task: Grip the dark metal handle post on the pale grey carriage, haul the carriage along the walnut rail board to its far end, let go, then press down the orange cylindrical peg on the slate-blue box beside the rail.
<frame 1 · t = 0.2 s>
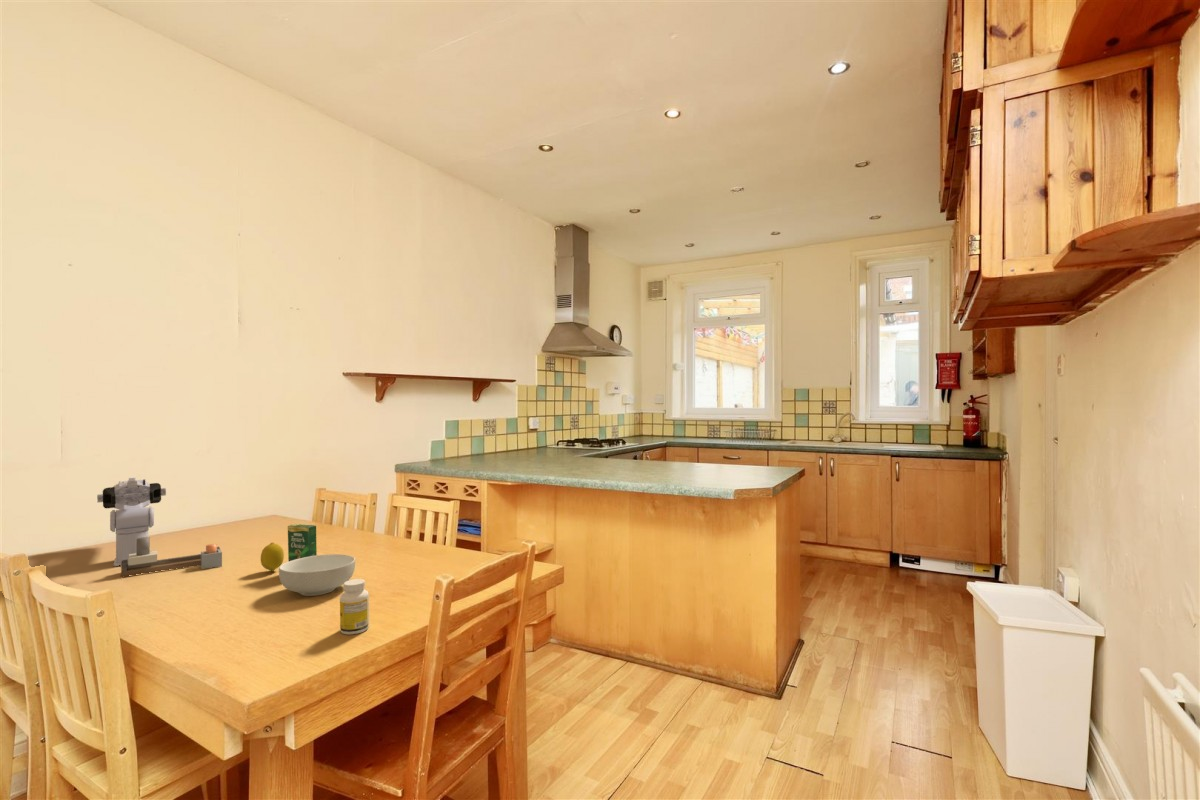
hand: (132, 498, 147), 21 cm above the table, tool horizontal, fingers open, 7 cm apart
carriage: (143, 549, 152), point 6 cm above the table, slide at 0.0 cm
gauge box: (211, 566, 157), on the table
coffee box: (302, 574, 150), on the table
orange cylindrical peg: (211, 551, 157), point 4 cm above the table, slide at 0.0 cm
cereal bowl: (318, 591, 136), on the table
supplement bottle: (354, 630, 112), on the table
lemon: (272, 572, 152), on the table
rail board: (172, 567, 156), on the table
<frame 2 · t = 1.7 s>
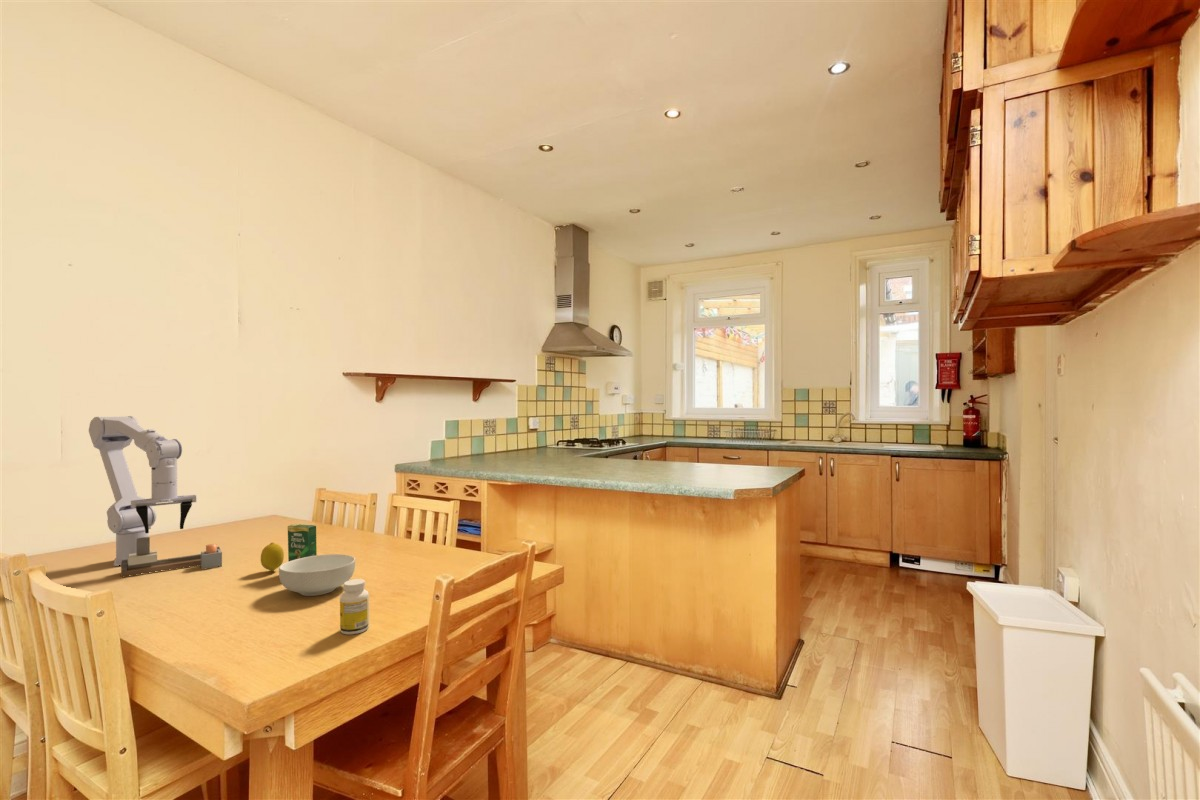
hand: (164, 530, 156), 10 cm above the table, tool pointing down, fingers open, 7 cm apart
nothing on the table moved.
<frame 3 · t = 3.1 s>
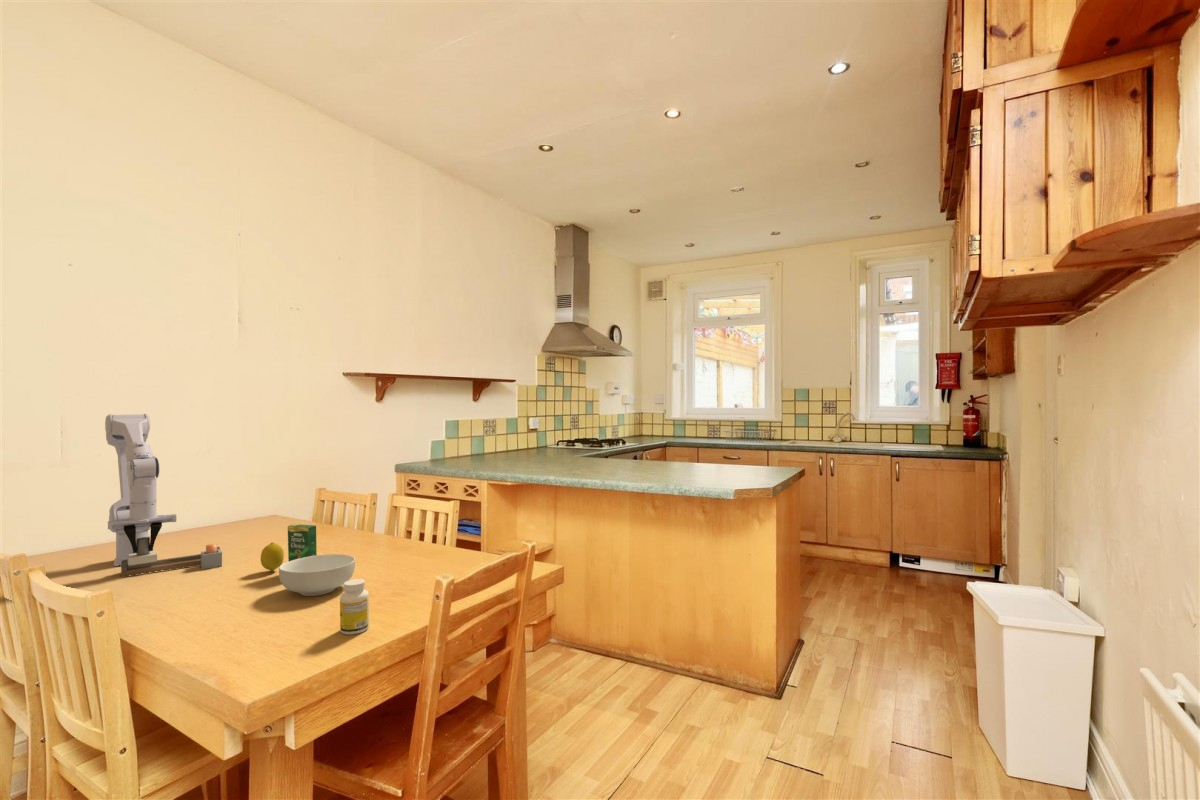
hand: (143, 551, 152), 6 cm above the table, tool pointing down, fingers closed on carriage, 3 cm apart
carriage: (143, 549, 152), point 6 cm above the table, slide at 0.0 cm, touching gripper
everything else where it was.
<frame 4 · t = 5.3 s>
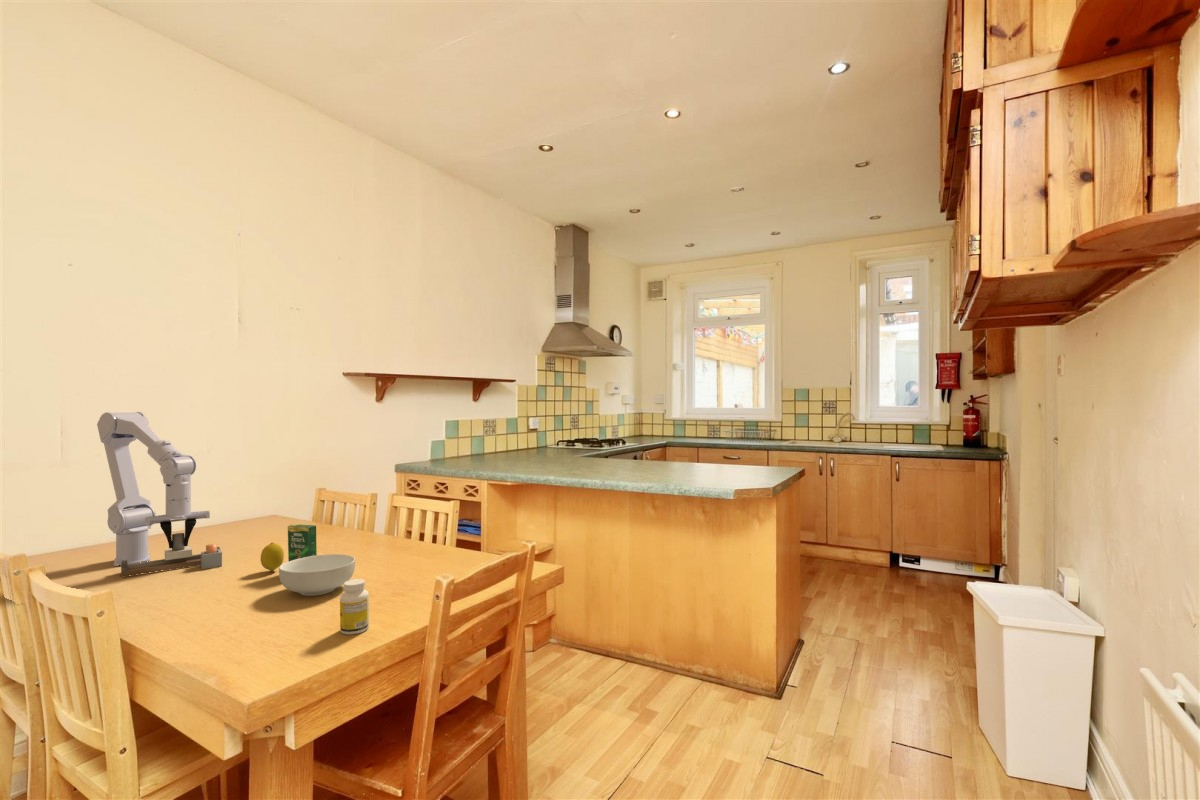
hand: (178, 546, 157), 6 cm above the table, tool pointing down, fingers closed on carriage, 3 cm apart
carriage: (178, 545, 157), point 6 cm above the table, slide at 7.7 cm, touching gripper
everything else where it was.
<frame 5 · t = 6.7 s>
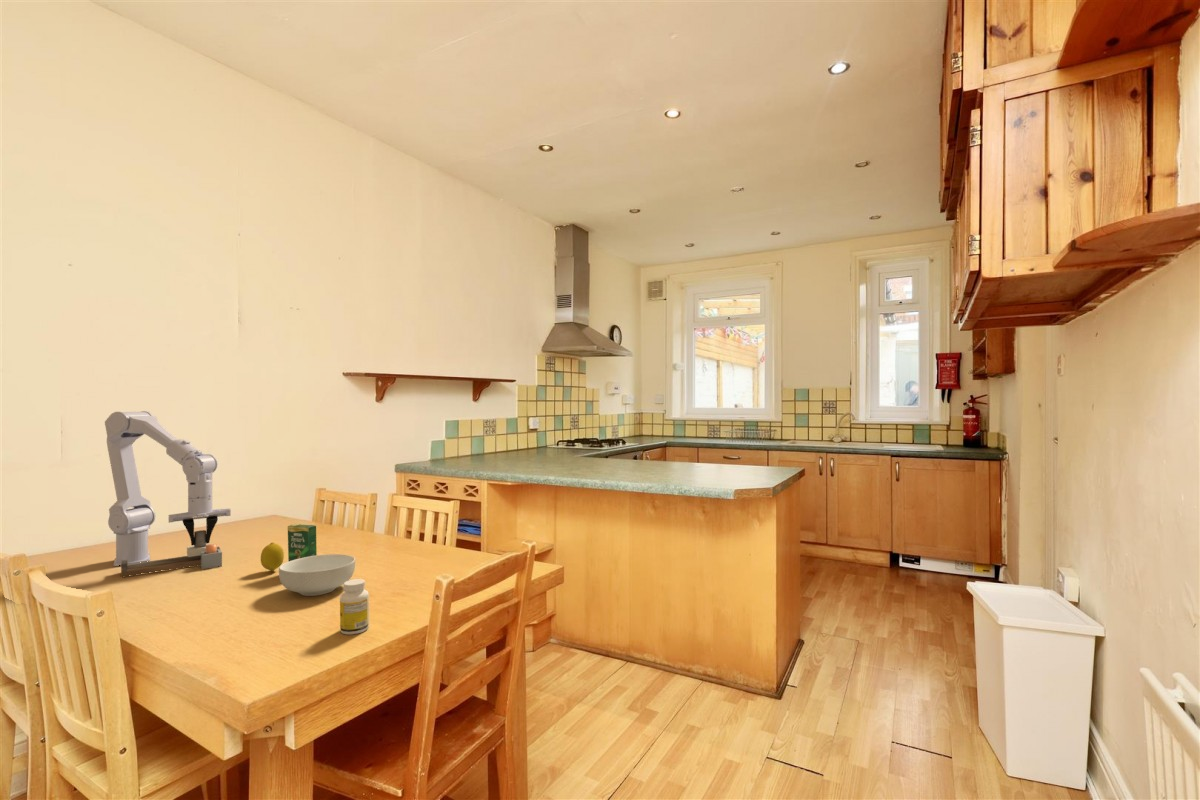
hand: (200, 543, 160), 6 cm above the table, tool pointing down, fingers closed on carriage, 3 cm apart
carriage: (200, 542, 160), point 6 cm above the table, slide at 12.8 cm, touching gripper
everything else where it was.
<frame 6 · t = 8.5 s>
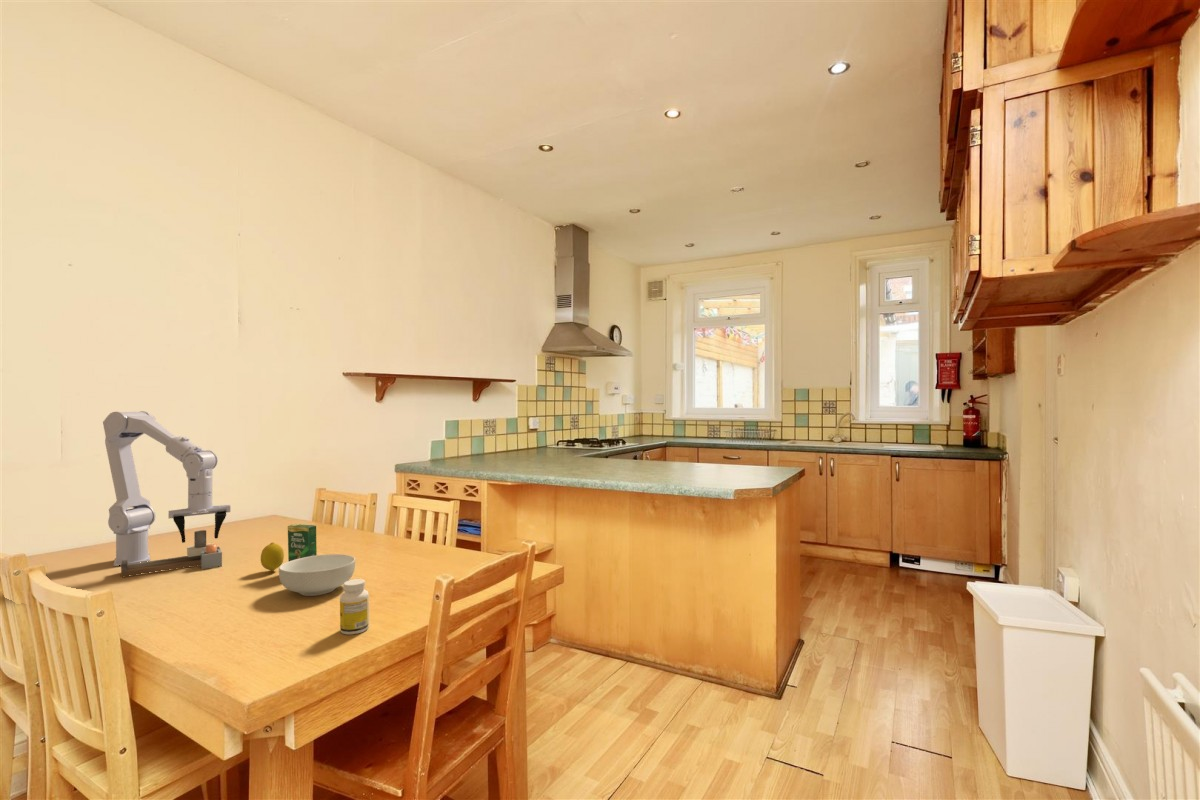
hand: (200, 539, 160), 7 cm above the table, tool pointing down, fingers open, 7 cm apart
carriage: (200, 542, 160), point 6 cm above the table, slide at 12.8 cm
everything else where it was.
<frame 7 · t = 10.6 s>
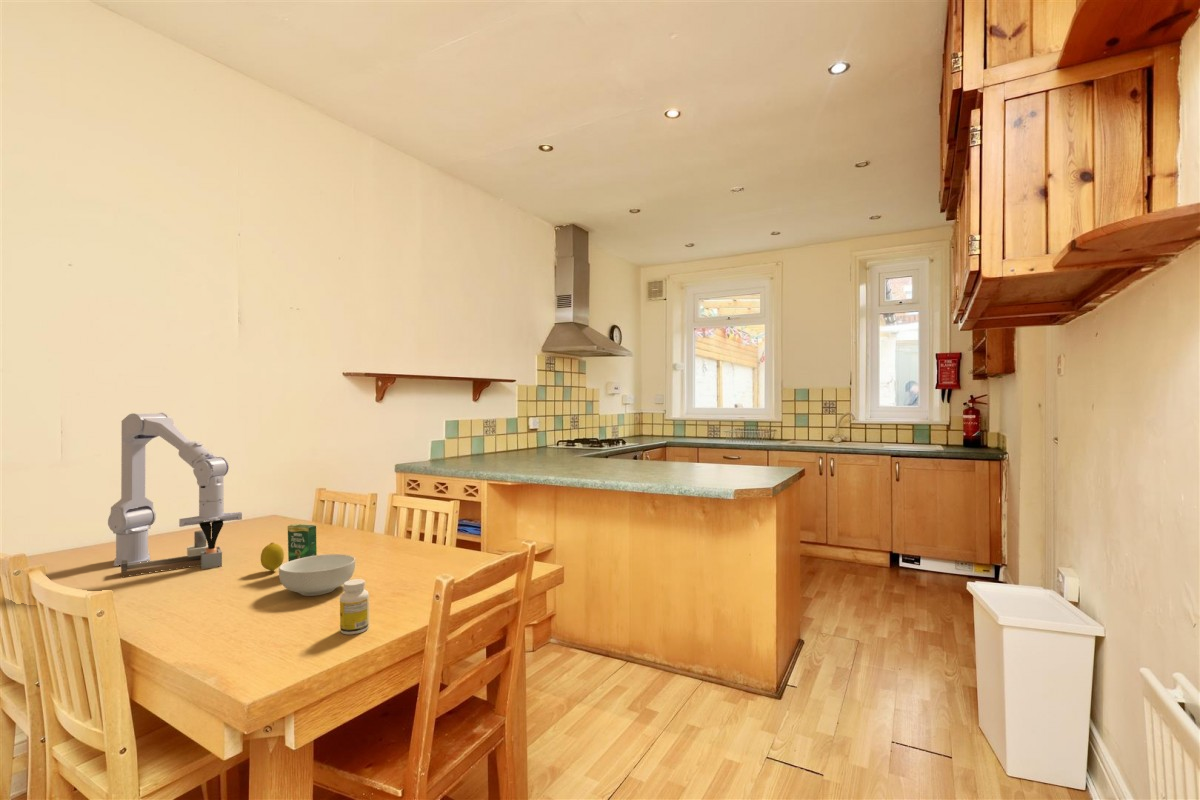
hand: (211, 548, 157), 5 cm above the table, tool pointing down, fingers closed, pressing on orange cylindrical peg
orange cylindrical peg: (211, 554, 157), point 3 cm above the table, slide at 0.9 cm, touching gripper
everything else where it was.
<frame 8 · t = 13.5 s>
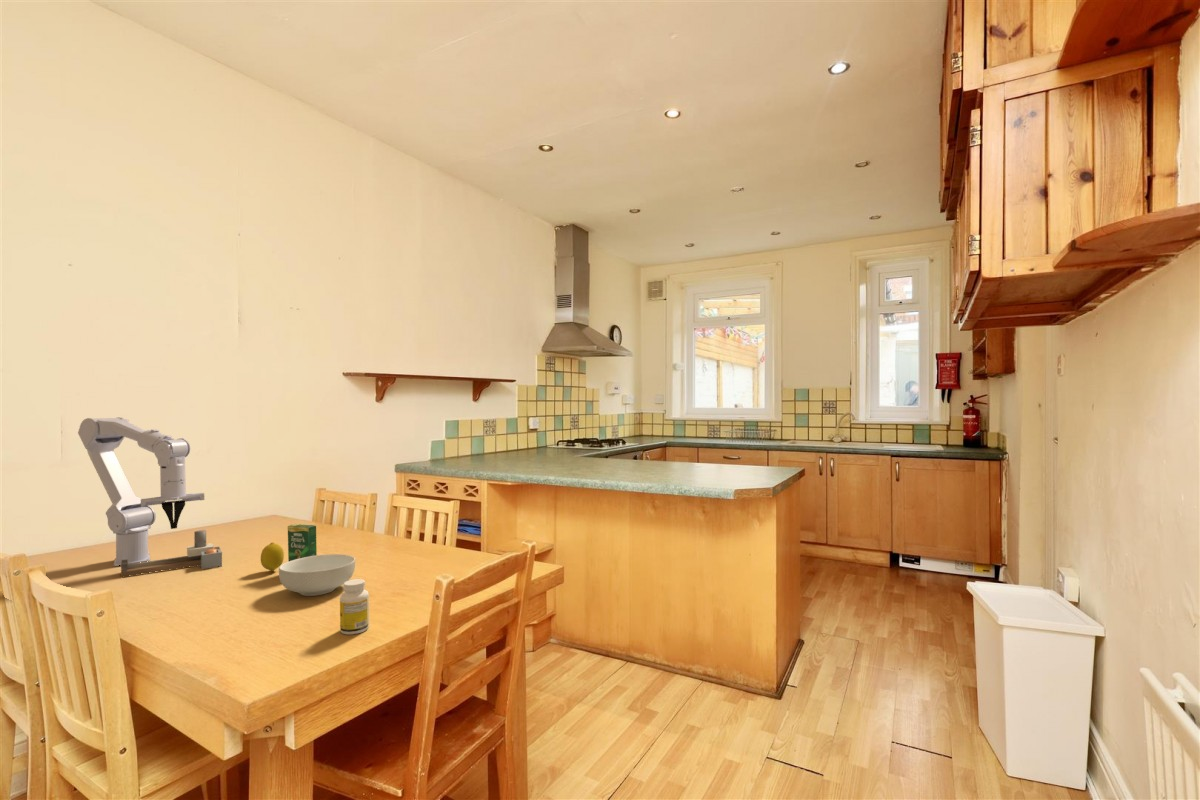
hand: (173, 528, 159), 10 cm above the table, tool pointing down, fingers closed
orange cylindrical peg: (211, 556, 157), point 3 cm above the table, slide at 1.4 cm
everything else where it was.
at the end: carriage slide at 12.8 cm; orange cylindrical peg slide at 1.4 cm; the gripper is holding nothing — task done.
